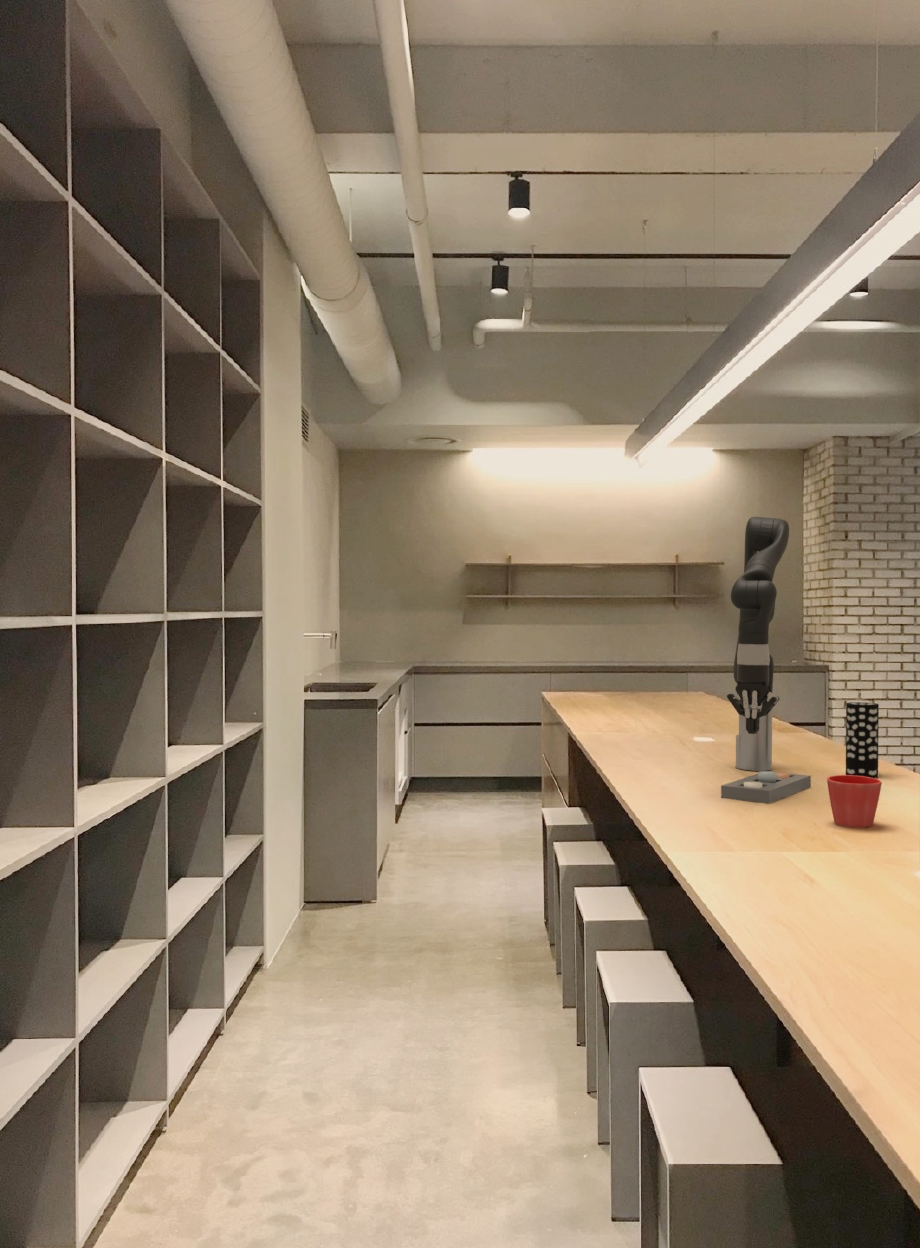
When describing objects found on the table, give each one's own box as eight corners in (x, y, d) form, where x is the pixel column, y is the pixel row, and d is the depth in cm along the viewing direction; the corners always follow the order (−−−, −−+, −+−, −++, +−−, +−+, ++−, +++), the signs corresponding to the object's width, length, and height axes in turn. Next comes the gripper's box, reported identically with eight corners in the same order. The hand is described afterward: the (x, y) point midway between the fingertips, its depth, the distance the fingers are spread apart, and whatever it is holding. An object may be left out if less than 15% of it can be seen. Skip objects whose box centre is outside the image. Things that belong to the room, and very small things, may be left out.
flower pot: (882, 831, 213) (882, 784, 213) (826, 827, 217) (826, 781, 217) (880, 821, 223) (880, 776, 223) (826, 817, 227) (827, 773, 227)
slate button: (755, 784, 257) (755, 772, 257) (762, 782, 261) (762, 770, 261) (772, 786, 254) (772, 774, 254) (778, 784, 258) (779, 772, 258)
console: (721, 797, 250) (721, 785, 250) (765, 782, 272) (765, 771, 272) (769, 803, 243) (769, 791, 243) (810, 787, 265) (810, 775, 265)
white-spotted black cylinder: (845, 777, 280) (845, 704, 280) (846, 773, 288) (846, 701, 287) (878, 779, 277) (878, 705, 276) (878, 775, 284) (878, 702, 284)
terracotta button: (768, 785, 264) (769, 774, 264) (775, 783, 268) (775, 771, 268) (785, 787, 262) (785, 775, 262) (792, 785, 265) (792, 773, 265)
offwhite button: (740, 795, 250) (740, 783, 250) (747, 793, 254) (747, 780, 254) (758, 797, 247) (758, 785, 247) (765, 795, 251) (765, 782, 251)
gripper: (721, 662, 251) (720, 732, 252) (773, 664, 243) (773, 737, 243) (733, 660, 257) (733, 729, 257) (785, 662, 249) (784, 734, 249)
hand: (752, 733), depth 250 cm, fingers closed
